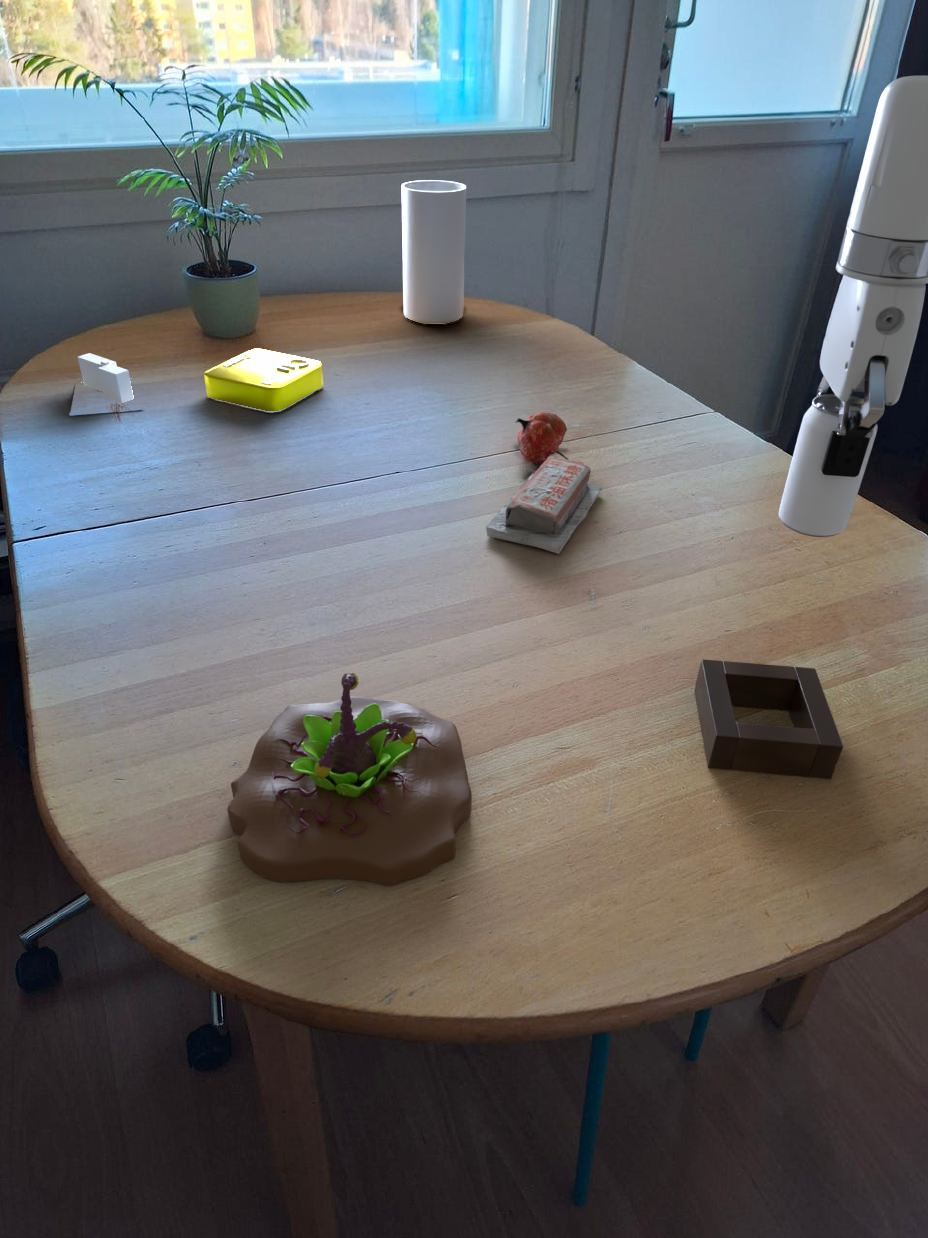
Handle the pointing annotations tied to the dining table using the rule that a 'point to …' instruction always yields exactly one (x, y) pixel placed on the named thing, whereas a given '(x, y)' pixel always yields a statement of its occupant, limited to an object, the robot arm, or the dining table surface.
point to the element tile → (264, 379)
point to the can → (819, 476)
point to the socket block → (766, 746)
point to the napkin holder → (106, 377)
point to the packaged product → (547, 506)
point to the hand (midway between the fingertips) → (830, 455)
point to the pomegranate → (540, 436)
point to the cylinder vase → (433, 250)
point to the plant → (351, 792)
